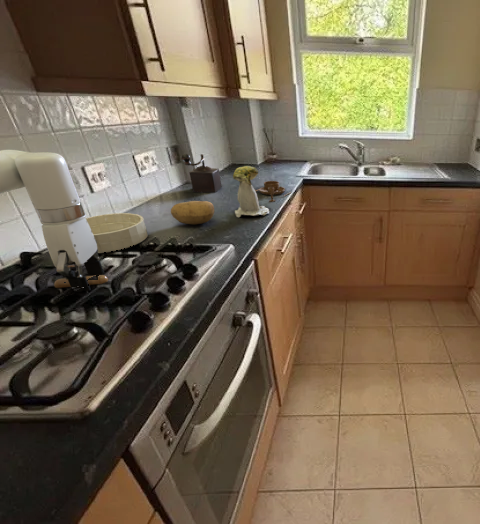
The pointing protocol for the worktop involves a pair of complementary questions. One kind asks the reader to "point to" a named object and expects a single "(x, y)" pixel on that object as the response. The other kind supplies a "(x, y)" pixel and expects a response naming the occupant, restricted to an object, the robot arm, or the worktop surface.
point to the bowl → (117, 231)
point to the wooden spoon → (101, 278)
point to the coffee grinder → (203, 176)
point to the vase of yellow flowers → (248, 192)
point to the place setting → (272, 189)
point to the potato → (193, 212)
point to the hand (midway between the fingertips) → (90, 283)
